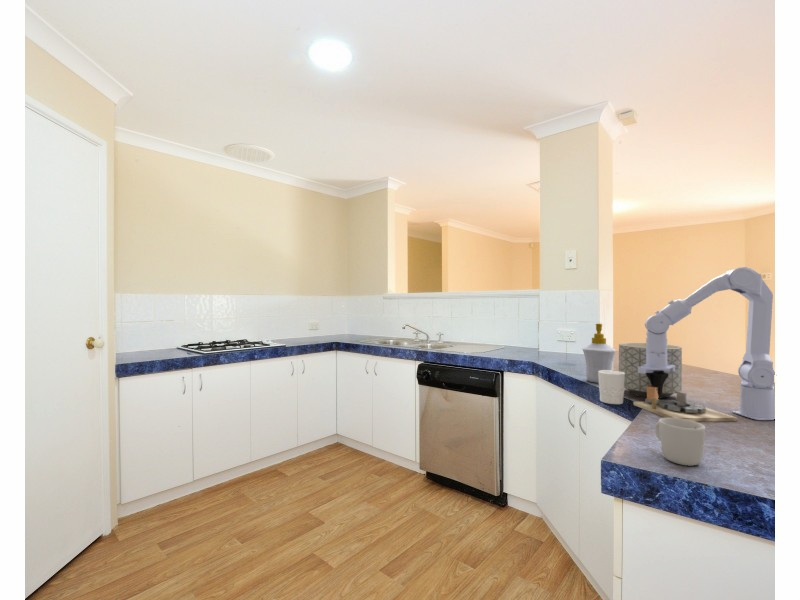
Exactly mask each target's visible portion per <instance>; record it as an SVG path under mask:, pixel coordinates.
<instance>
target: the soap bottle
mask: <svg viewBox="0 0 800 600" xmlns="http://www.w3.org/2000/svg"><path fill="white" fill-rule="evenodd" d="M595 330H596V333H594V334H593V337H591V343H590V344H588V345H586V346H584V347H583V348H581V349H582V351H583V354H584V358H585V360H584V361H585V365H586V380H587V381H588V382H590V383H593V382H597V383H596V384H599V376H598V371H600V370H612V368H613V362H614V358H615V355H616V353H617V350H616V349H614V348H613V347H611V346H610V345H608V344H607V338H606V337H605V336H604V333H602V330H603V323H596V324H595ZM612 371H613V370H612Z"/></svg>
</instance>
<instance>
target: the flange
mask: <svg viewBox="0 0 800 600" xmlns="http://www.w3.org/2000/svg"><path fill="white" fill-rule="evenodd" d="M652 398H656V404H659V406H661V407H663V408H667V409H669V410H674V411H679V412H681V411H684V412H685V413H698V412H699V413H703V412H705V411H706V408H707V407H706V406H705V405H702V404H699V403H696V402H692V401H691V402H690V401H687V402H686V406H678V405H677V399H676V400H675V399H662V398H659V399H658V387H656V386H647V398H645V399H644V400H645V401H644V402H649V403H652Z"/></svg>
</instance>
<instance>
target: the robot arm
mask: <svg viewBox="0 0 800 600" xmlns="http://www.w3.org/2000/svg"><path fill="white" fill-rule="evenodd" d="M728 290H731V291H733V292H736V293H738V294H740V295H742V296H743V297H744V298H746V299H747V300H748V312H747V313H748V314H747V327H746V331H747V332H746V346H745V353H744V355H743V357H742V362H741V364H740V365H739V366H738V370H737V373H738V376H739V377H740V378H741V379H742V380H741V382H740V385H739V387H740V388H739V389H740V390H739V393H740V394H739V396H740V397H739V398H740V399H739V400H740V401H739V403H740V405H739V410H732V413H733V414H736V415H740V416H743V417H746V418H749V419H753V420H755V421H775V420H774V387H775V386H774V384H775V383H774V375H775V373H776V372H775V369H774V362H773V360H772V357H771V356H770V350H771V349H770V348H771V335H772V334H771V333H772V318H773V317H772V315H773V303H774V302H773V301H774V300H773V299H774V295H773V292H772V290H771V289H770V287H769V286H768V285H767V283H766V282H765V280H764V279H763V276H762V274H761V273H759V272H758V271H756V270H755V269H752V268H751V267H747V266H741V267H738V268H735V269H730V270H727V271H726V272H724V273H723V274H720V275H718V276H716V277H714V278H712V279H711V280H709V281H708V282H706V283H705V284H703V285H702V286H701V287H699V288H698V289H697V290H695V291H694V292H693V293H691V294H690V295H689V296H687V297H686V298H684V299H678V298H677V299H675V300H673V299H672V300H670V301H668V303H667V304H668V305H666V306H665V307H663V308H661V309H660V310H656V311H655V312H654V313H655V314H656V315H655V314H654V315H650V316H649V317H648V318H647V319H646V321H645V323H644V327H645V328H646V337H645V340H646V341H645V343H646V364H644V366H641V367H638V373H642V374H646V375H647V377H648V378H649V380H650V382H651V386H656V387H658V395H662V389H663V384H664V382H665V380H666V379H667V377H668V373H664V371H675V365H670V364H668V365H667V345H668V338H667V336H668V335H667V331H668V330H669V328H670V326H674V325H675V324H676V323H678V322H681V320H683V319H684V318H686V317H687V316H689V315H691V313H692V309H693V308H692V307H694V306H696V305H698V304H699V303H701V302H703V301H704V300H706V299H708V298H709V297H711V296H712V295H714V294H715V293H717V292H721V291H728ZM651 370H652V371H651Z"/></svg>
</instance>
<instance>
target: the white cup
mask: <svg viewBox="0 0 800 600" xmlns="http://www.w3.org/2000/svg"><path fill="white" fill-rule="evenodd" d="M598 376H599V383H598V388H599V389H598V390H599V401H600V402H601V403H605V404H609V405H621V404H622V405H623V403H624V395H625V394H624V393H625V388H624V382H625V373H624V372H620V371H619V370H600V371H598Z"/></svg>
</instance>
